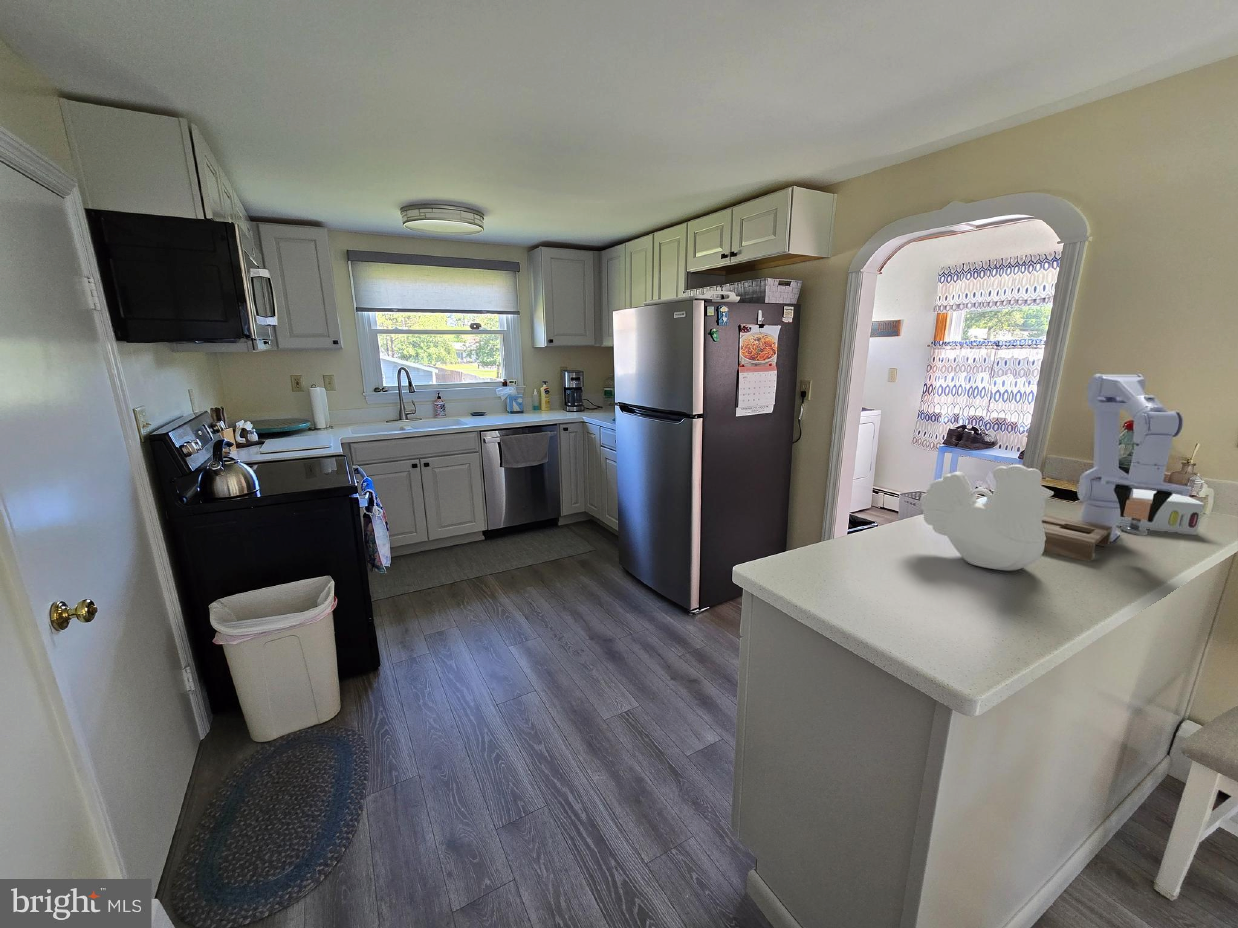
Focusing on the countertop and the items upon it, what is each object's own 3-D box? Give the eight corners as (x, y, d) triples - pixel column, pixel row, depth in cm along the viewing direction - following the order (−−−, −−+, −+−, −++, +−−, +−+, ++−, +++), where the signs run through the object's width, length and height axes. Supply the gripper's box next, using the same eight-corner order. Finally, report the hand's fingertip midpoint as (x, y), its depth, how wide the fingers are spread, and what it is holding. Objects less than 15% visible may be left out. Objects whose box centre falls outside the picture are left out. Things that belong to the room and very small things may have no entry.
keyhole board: (1032, 528, 143) (1035, 511, 142) (1108, 544, 130) (1112, 526, 129) (1009, 542, 133) (1012, 524, 132) (1089, 561, 120) (1093, 541, 119)
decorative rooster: (1052, 570, 115) (1072, 465, 110) (1018, 586, 108) (1038, 474, 102) (940, 537, 136) (952, 448, 131) (905, 548, 129) (916, 454, 124)
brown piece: (1122, 528, 123) (1129, 496, 121) (1148, 533, 119) (1155, 500, 117) (1118, 531, 120) (1125, 499, 118) (1144, 536, 117) (1152, 504, 115)
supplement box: (1115, 527, 144) (1122, 495, 142) (1098, 514, 156) (1104, 485, 154) (1198, 536, 136) (1206, 503, 135) (1173, 522, 148) (1181, 491, 146)
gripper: (1102, 460, 119) (1091, 514, 122) (1192, 471, 108) (1178, 530, 111) (1109, 456, 123) (1098, 509, 126) (1197, 466, 112) (1183, 524, 115)
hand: (1136, 518), depth 119 cm, fingers closed on brown piece, 4 cm apart
